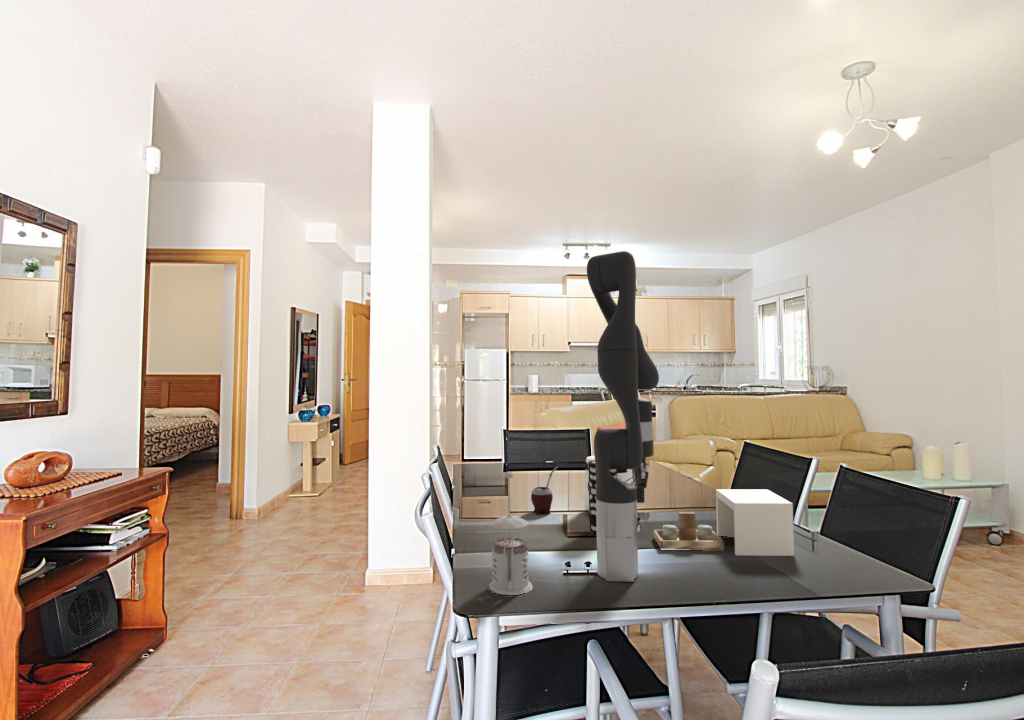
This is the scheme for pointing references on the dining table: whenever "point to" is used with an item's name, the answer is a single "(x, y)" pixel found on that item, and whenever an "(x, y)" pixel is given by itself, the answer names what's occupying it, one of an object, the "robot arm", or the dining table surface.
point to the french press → (510, 556)
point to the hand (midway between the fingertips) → (639, 502)
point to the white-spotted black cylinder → (594, 494)
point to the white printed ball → (622, 475)
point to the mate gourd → (542, 498)
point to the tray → (690, 544)
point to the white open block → (756, 521)
